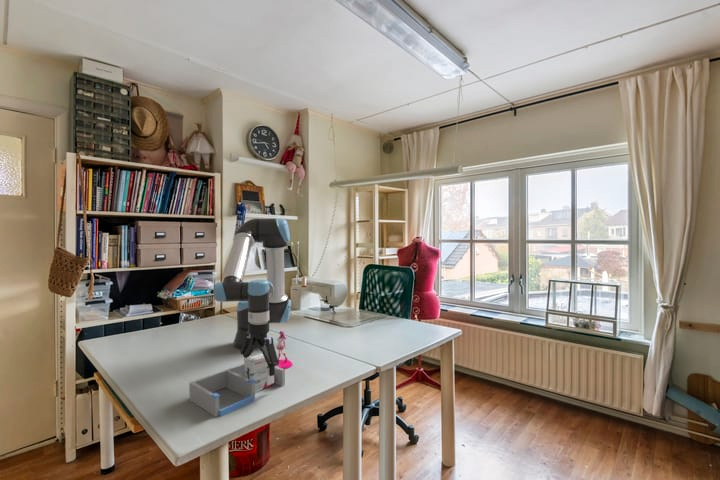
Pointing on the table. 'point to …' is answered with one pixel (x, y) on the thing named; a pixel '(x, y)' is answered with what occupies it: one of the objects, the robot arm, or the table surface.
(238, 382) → the divided organizer tray
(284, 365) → the figurine
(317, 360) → the table surface
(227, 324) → the table surface
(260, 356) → the ink box
